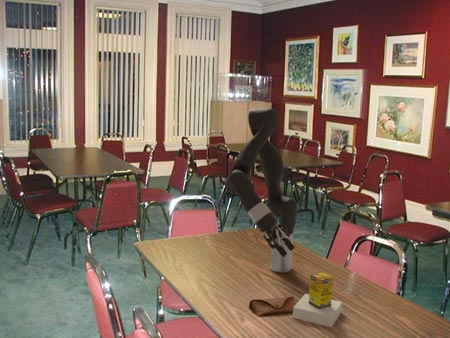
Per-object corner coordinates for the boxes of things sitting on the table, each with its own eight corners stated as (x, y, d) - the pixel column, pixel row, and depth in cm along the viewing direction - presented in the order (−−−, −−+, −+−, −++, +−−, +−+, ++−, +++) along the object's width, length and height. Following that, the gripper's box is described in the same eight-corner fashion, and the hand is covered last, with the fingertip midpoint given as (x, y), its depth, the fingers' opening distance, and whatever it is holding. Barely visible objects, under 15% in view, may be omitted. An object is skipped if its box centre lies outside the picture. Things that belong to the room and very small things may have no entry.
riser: (304, 303, 193) (305, 293, 193) (341, 312, 187) (342, 301, 186) (292, 317, 181) (293, 307, 180) (331, 327, 175) (332, 316, 174)
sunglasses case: (256, 317, 180) (254, 298, 182) (250, 319, 186) (247, 300, 188) (302, 312, 185) (299, 294, 188) (295, 314, 191) (292, 296, 194)
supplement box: (319, 309, 179) (321, 279, 177) (308, 303, 184) (310, 274, 182) (331, 306, 183) (334, 277, 181) (319, 299, 187) (322, 271, 186)
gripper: (262, 215, 181) (290, 252, 178) (276, 207, 194) (302, 241, 191) (247, 226, 184) (275, 263, 181) (262, 218, 197) (288, 252, 194)
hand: (289, 252), depth 186 cm, fingers open, 8 cm apart
